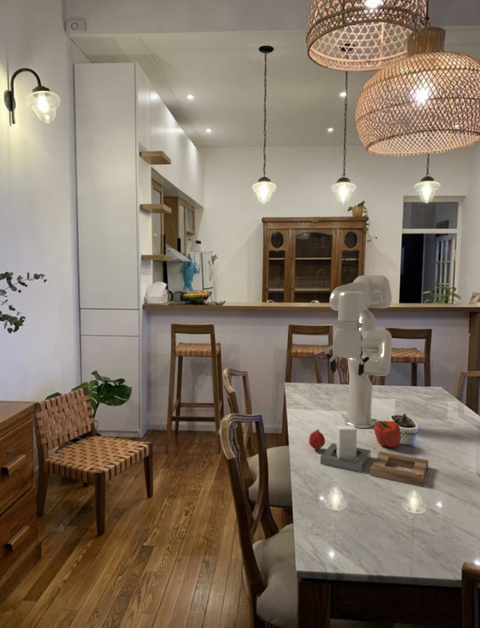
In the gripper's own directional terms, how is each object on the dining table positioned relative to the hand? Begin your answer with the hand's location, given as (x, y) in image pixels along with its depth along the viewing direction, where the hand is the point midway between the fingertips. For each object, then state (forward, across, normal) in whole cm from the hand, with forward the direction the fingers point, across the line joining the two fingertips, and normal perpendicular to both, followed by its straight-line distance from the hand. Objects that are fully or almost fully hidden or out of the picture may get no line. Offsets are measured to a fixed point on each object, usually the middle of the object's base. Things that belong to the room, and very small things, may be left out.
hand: (346, 373), depth 162 cm
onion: (+30, +10, +1) cm, 31 cm away
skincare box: (+30, -2, +5) cm, 30 cm away
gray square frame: (+30, -2, +5) cm, 30 cm away
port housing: (+30, -20, +5) cm, 36 cm away
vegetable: (+29, -12, -16) cm, 35 cm away
